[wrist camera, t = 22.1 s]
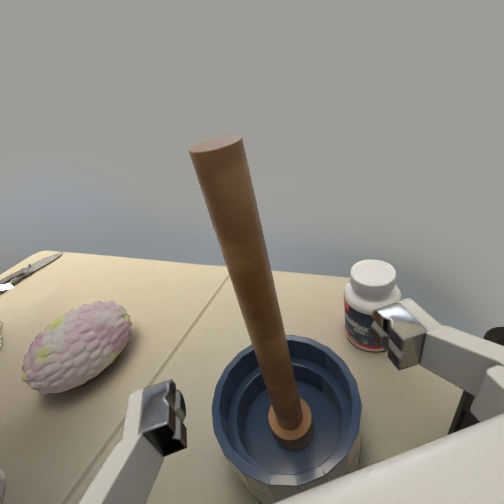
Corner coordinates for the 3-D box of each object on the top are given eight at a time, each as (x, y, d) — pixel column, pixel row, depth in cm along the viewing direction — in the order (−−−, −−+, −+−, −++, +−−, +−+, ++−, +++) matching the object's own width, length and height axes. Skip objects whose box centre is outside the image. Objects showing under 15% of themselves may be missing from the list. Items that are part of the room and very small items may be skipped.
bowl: (221, 512, 21) (196, 483, 18) (239, 375, 30) (224, 339, 27) (378, 520, 19) (381, 489, 16) (346, 370, 28) (344, 331, 25)
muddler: (271, 451, 23) (158, 165, 10) (272, 406, 26) (186, 141, 13) (315, 451, 22) (255, 145, 9) (312, 405, 25) (261, 124, 12)
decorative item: (146, 306, 36) (56, 288, 30) (122, 401, 32) (14, 404, 26) (123, 305, 42) (45, 290, 36) (100, 384, 39) (10, 383, 33)
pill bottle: (336, 326, 33) (332, 266, 28) (373, 308, 34) (376, 248, 29) (366, 361, 29) (367, 298, 24) (408, 340, 29) (417, 275, 25)
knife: (65, 251, 66) (57, 247, 67) (-20, 300, 53) (-29, 294, 54) (67, 256, 67) (59, 252, 68) (-16, 306, 54) (-25, 299, 55)
